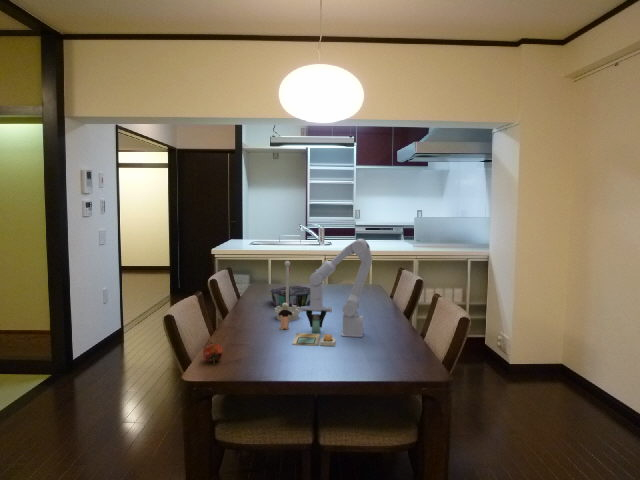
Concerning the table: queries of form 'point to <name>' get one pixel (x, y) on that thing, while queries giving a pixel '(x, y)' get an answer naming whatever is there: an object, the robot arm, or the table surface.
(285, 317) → the grandmother figurine
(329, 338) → the button
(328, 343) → the button housing
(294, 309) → the flag stand
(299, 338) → the picture board
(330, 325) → the table surface
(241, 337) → the table surface
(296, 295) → the decorative bowl
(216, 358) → the pomegranate
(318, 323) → the green grey cylinder
